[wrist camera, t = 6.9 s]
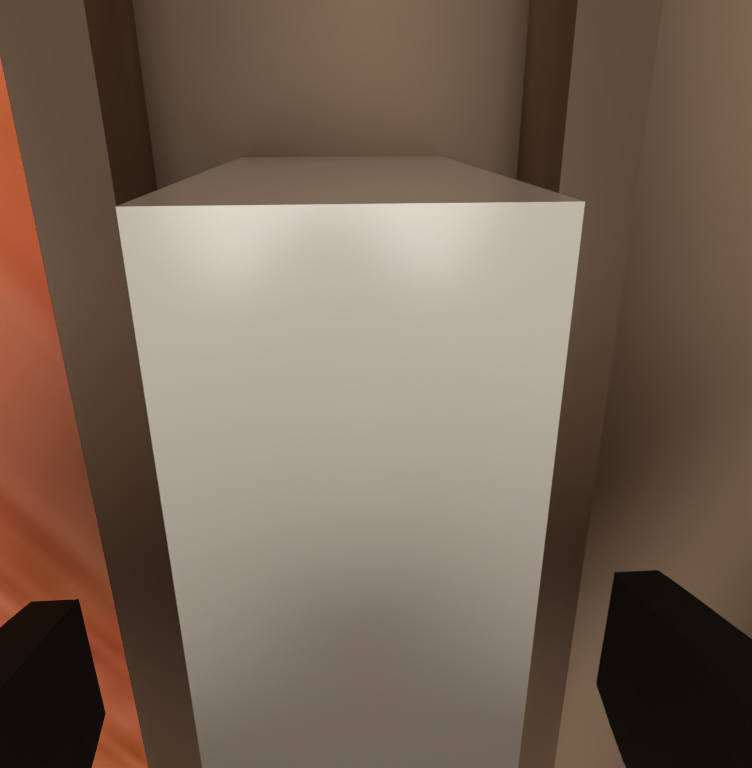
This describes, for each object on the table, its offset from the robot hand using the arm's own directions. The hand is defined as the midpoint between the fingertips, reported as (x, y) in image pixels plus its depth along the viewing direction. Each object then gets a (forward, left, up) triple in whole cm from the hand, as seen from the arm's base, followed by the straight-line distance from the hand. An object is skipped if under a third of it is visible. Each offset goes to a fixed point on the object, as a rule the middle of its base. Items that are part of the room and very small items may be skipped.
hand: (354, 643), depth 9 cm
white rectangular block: (0, 0, -3) cm, 4 cm away
